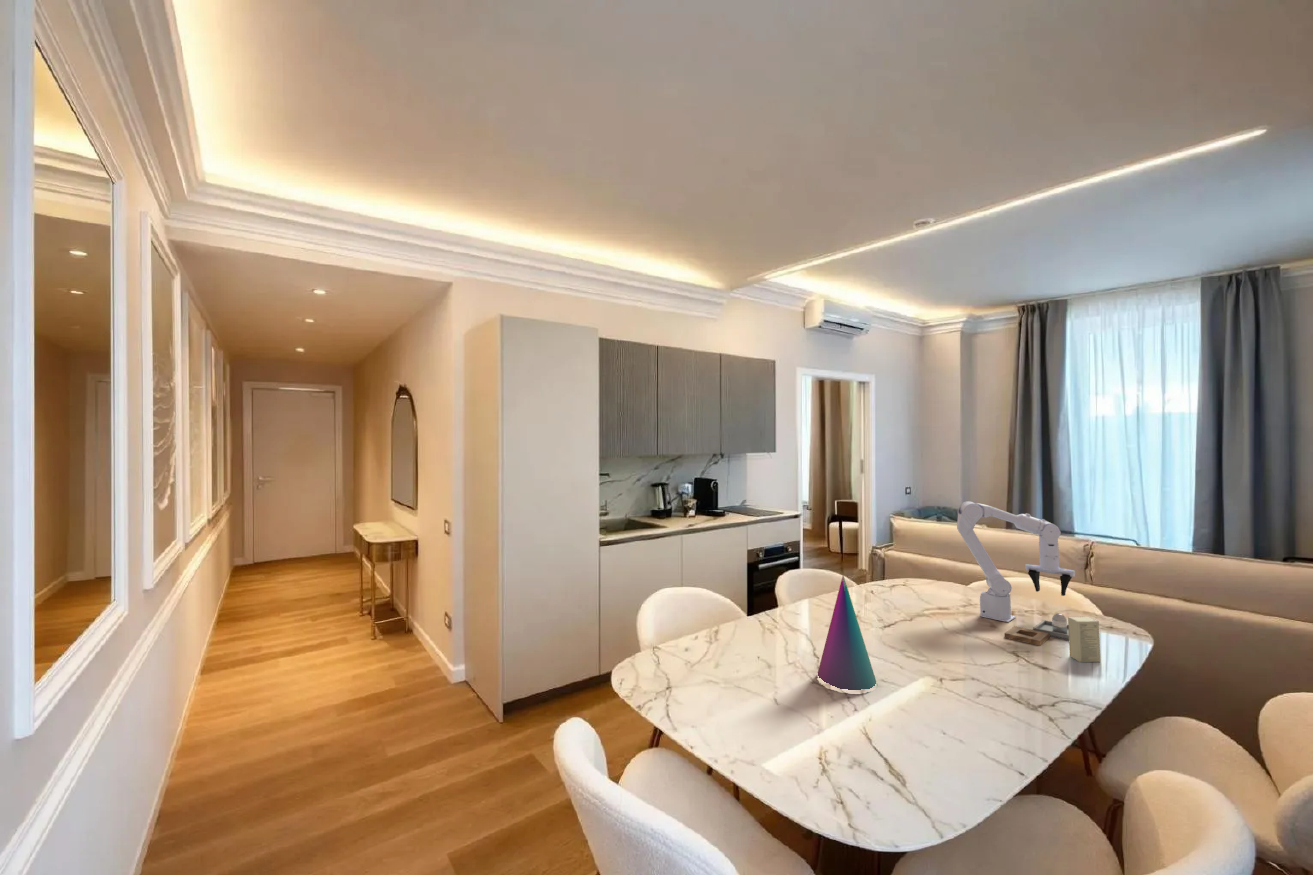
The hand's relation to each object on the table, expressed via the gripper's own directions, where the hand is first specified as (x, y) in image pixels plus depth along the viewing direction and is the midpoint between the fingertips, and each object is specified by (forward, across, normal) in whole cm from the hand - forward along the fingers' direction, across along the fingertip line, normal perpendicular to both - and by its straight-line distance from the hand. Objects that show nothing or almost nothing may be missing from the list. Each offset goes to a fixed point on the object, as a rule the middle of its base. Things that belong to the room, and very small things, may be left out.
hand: (1050, 593), depth 192 cm
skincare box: (+11, +16, -32) cm, 37 cm away
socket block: (+10, -1, -24) cm, 26 cm away
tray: (+10, +5, -11) cm, 16 cm away
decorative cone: (+11, -24, -97) cm, 100 cm away
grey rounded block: (+10, +5, -11) cm, 16 cm away
